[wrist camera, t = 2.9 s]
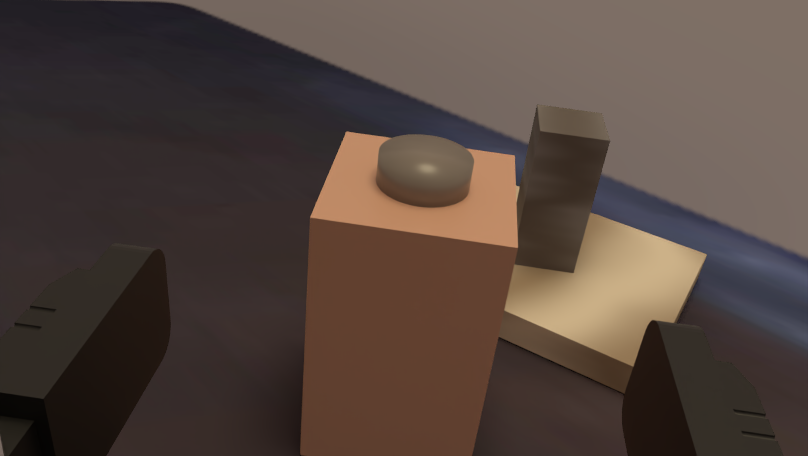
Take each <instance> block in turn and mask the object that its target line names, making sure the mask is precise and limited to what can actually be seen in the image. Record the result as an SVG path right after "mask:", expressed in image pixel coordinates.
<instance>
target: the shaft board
mask: <svg viewBox="0 0 808 456" xmlns="http://www.w3.org/2000/svg"><path fill="white" fill-rule="evenodd" d="M609 143H610V139H609V136H608V132H607V129H606V126H605V122H604V119H603V116H602V113H595V112H587V111H580V110H573V109H566V108H559V107H551V106H544V105H537V108H536V113H535V117H534V122H533V127H532V132H531V137H530V141H529V146H528V150H527V155H526V160H525V165H524V169H523V174H522V179H521V183H520V187H518V186H516V206H517V233H518V251H517V255H516V260H515V264H514V269H513V273H512V278H511V282H510V287H509V291H508V296H507V300H506V305H505V309H504V314H503V318H502V323H501V327H500V332H499V336H498V337H500V338H502V339H505V340H507V341H509V342H511V343H513V344H516V345H518V346H520V347H522V348H525V349H527V350H529V351H531V352H533V353H536V354H538V355H540V356H542V357H544V358H547V359H549V360H551V361H553V362H555V363H558V364H560V365H562V366H564V367H566V368H569V369H571V370H573V371H575V372H577V373H580V374H582V375H584V376H586V377H588V378H591V379H593V380H595V381H597V382H600V383H602V384H604V385H606V386H608V387H611V388H613V389H615V390H617V391H619V392H622V393H624V394H625V390H626V387H627V384H628V381H629V378H630V375H631V372H632V369H633V366H634V363H635V360H636V357H637V354H638V351H639V348H640V345H641V342H642V339H643V336H644V333H645V330H646V328H647V326H648V324H649V323H650V322H651V321H652V320H657V321H664V322H671V323H677V321H678V319H679V316H680V314H681V312H682V310H683V308H684V306H685V304H686V302H687V300H688V298H689V296H690V294H691V291H692V289H693V287H694V285H695V283H696V281H697V279H698V277H699V274H700V271H701V269H702V266H703V264H704V261H705V258H706V256H707V254H704V253H701V252H698V251H696V250H693V249H690V248H687V247H684V246H682V245H679V244H676V243H673V242H671V241H668V240H665V239H662V238H660V237H657V236H654V235H651V234H648V233H646V232H643V231H640V230H637V229H635V228H632V227H629V226H626V225H624V224H621V223H618V222H615V221H612V220H610V219H607V218H604V217H601V216H599V215H596V214H593V213H590V212H591V208H592V204H593V201H594V197H595V193H596V190H597V186H598V183H599V179H600V175H601V172H602V168H603V164H604V161H605V157H606V153H607V150H608V146H609Z"/></svg>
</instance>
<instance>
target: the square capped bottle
mask: <svg viewBox="0 0 808 456" xmlns="http://www.w3.org/2000/svg"><path fill="white" fill-rule="evenodd" d="M517 251H518V233H517V206H516V180H515V156H514V155H507V154H500V153H493V152H486V151H479V150H472V149H466V148H464V147H463V146H461V145H459V144H457V143H455V142H453V141H450V140H448V139H444V138H440V137H436V136H430V135H402V136H397V137H394V138H387V137H380V136H373V135H366V134H359V133H352V132H346V134H345V137H344V139H343V141H342V144H341V146H340V148H339V151H338V153H337V156H336V158H335V160H334V163H333V165H332V167H331V170H330V172H329V174H328V177H327V179H326V181H325V184H324V186H323V189H322V191H321V193H320V196H319V198H318V200H317V203H316V205H315V207H314V210H313V212H312V214H311V217H310V234H309V257H308V281H307V304H306V327H305V351H304V374H303V398H302V421H301V445H300V455H304V456H472V454H473V449H474V445H475V440H476V436H477V431H478V427H479V422H480V417H481V413H482V408H483V404H484V399H485V395H486V390H487V386H488V381H489V377H490V372H491V368H492V363H493V359H494V354H495V350H496V345H497V341H498V336H499V332H500V327H501V323H502V318H503V314H504V309H505V305H506V300H507V296H508V291H509V287H510V282H511V278H512V273H513V269H514V264H515V260H516V255H517Z"/></svg>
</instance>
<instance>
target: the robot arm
mask: <svg viewBox="0 0 808 456" xmlns="http://www.w3.org/2000/svg"><path fill="white" fill-rule="evenodd" d="M170 328H171V322H170V310H169V298H168V287H167V275H166V264H165V257H164V254H163V252H162V251H161V250H160V249H154V248H147V247H139V246H132V245H125V244H118V243H115V244H112V245H111V246H110V247H109V248H108V249H107V250H106V251H105V253H104V254H103V255H102V256H101V257H100V258H99V260H98V261H97V262H96V263H95V264H94V266H93V267H92V268H91V269H90V270H86V269H79V268H77V269H75V270H74V271H72V272H70V273H68V274H67V275H65V276H63V277H61V278H60V279H58V280H56V281H54V282H53V283H51V284H49V285H48V286H47V287H46V288H45V290H44V291H43V292H42V293H41V294H40V295H39V296H38V297H37V298H36V300H35V301H34V302H33V303H32V304H31V305H30V309H29V310H26V311H25V312H24V313H23V314H22V315H21V316H20V317H19V318H18V320H17V321H16V322H15V325H14V327H10V328H9V330H8V331H7V332H6V333H5V334H4V335H3V336H2V337H1V338H0V456H106V455H107V454H108V452H109V450H110V449H111V447H112V445H113V443H114V442H115V440H116V438H117V437H118V435H119V433H120V431H121V430H122V428H123V426H124V425H125V423H126V421H127V419H128V418H129V416H130V414H131V413H132V411H133V409H134V408H135V406H136V404H137V402H138V401H139V399H140V397H141V396H142V394H143V392H144V390H145V389H146V387H147V385H148V384H149V382H150V380H151V378H152V377H153V375H154V373H155V372H156V370H157V368H158V366H159V365H160V363H161V361H162V359H163V357H164V355H165V353H166V350H167V346H168V342H169V337H170ZM765 415H766V413H765V411H764V408H763V406H762V404H761V401H760V399H759V397H758V394H757V392H756V390H755V387H754V386H753V385H752V384H751V383H750V382H749V381H748V380H747V379H746V378H745V377H744V376H743V375H742V373H741V372H740V371H739V370H738V369H737V368H736V367H735V366H734V365H733V364H732V363H729V362H722V361H715V360H714V357H713V354H712V352H711V349H710V346H709V344H708V341H707V338H706V336H705V333H704V331H703V329H702V328H701V327H699V326H692V325H685V324H678V323H671V322H664V321H657V320H652V321H651V322H650V323H649V324H648V326H647V328H646V330H645V333H644V336H643V339H642V342H641V345H640V348H639V351H638V354H637V357H636V360H635V363H634V366H633V369H632V372H631V375H630V378H629V381H628V384H627V387H626V390H625V394H624V399H623V407H622V426H623V433H624V438H625V443H626V448H627V453H628V456H783V453H782V451H781V448H780V446H779V444H778V441H775V434H774V432H773V430H772V427H771V425H770V423H769V420H768V419H766V418H765Z"/></svg>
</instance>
